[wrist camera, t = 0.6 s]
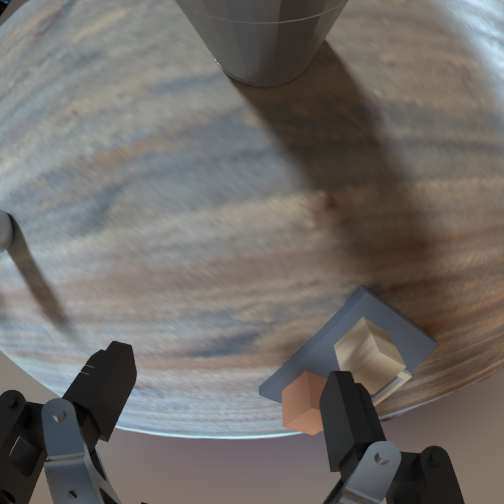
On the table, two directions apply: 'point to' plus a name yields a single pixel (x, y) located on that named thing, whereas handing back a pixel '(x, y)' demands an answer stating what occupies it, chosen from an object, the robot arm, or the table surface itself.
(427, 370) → the table surface
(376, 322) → the grey board
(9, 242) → the plastic bottle
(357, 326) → the birch block
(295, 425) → the terracotta block
